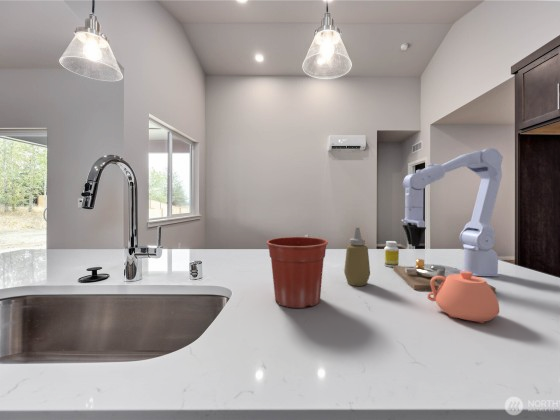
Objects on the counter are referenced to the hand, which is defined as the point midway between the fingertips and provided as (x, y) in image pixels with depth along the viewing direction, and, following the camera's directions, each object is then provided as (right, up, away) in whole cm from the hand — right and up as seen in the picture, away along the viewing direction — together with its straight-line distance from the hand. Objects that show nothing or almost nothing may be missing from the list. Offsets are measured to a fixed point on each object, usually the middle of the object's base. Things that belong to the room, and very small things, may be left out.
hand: (413, 245), depth 96 cm
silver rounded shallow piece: (+3, -8, -7) cm, 11 cm away
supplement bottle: (-3, -10, +12) cm, 16 cm away
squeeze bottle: (-23, -11, -10) cm, 28 cm away
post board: (+5, -11, -7) cm, 13 cm away
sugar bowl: (-5, -12, -33) cm, 35 cm away
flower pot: (-43, -12, -23) cm, 50 cm away
